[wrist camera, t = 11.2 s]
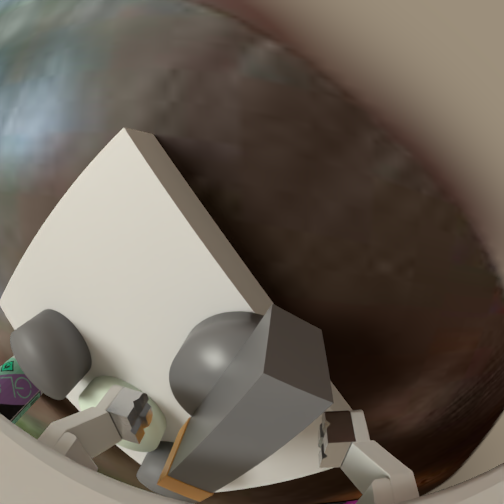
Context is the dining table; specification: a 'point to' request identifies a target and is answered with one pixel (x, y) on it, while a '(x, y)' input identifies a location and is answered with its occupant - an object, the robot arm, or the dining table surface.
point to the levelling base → (134, 300)
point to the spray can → (15, 391)
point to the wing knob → (242, 395)
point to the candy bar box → (348, 503)
